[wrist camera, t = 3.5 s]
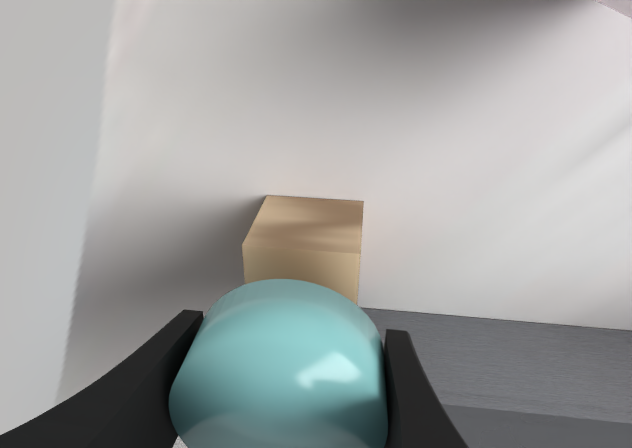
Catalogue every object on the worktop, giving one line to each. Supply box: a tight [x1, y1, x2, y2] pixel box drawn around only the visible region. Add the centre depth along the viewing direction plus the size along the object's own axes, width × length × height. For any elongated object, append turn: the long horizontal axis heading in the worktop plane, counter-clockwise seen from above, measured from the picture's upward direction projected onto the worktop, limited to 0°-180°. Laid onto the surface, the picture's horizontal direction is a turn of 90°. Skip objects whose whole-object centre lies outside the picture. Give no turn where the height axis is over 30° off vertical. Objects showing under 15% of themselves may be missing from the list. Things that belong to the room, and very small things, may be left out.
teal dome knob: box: [169, 279, 388, 448], centre depth 12 cm, size 6×6×2 cm
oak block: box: [242, 195, 364, 305], centre depth 18 cm, size 4×4×4 cm
